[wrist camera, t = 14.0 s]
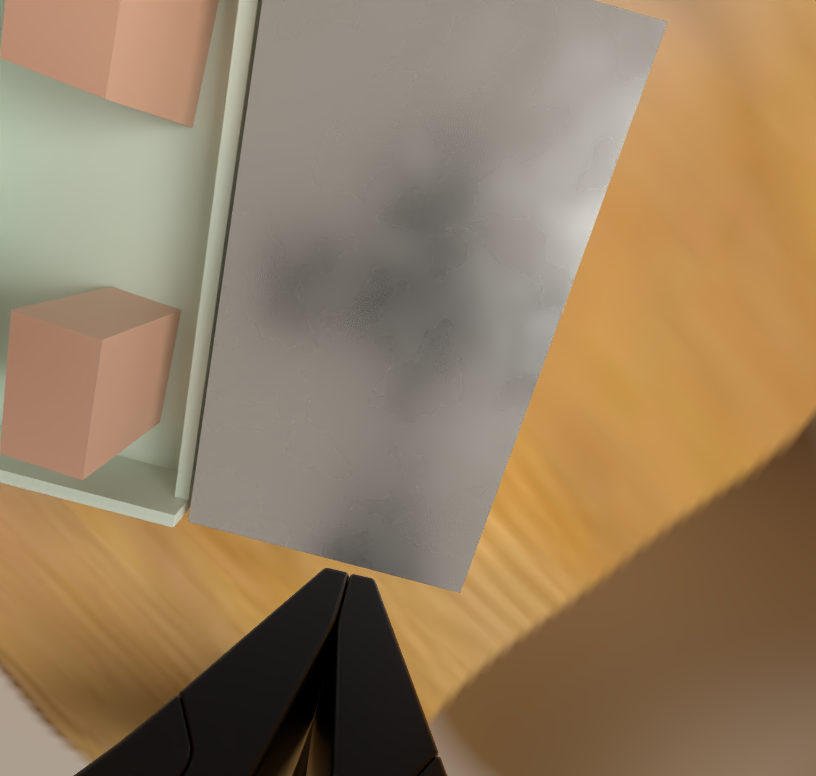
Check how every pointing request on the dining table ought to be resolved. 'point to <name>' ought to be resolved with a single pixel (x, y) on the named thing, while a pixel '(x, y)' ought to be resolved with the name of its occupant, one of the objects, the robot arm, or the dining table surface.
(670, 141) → the dining table surface
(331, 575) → the robot arm
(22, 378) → the tile
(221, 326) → the plate
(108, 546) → the dining table surface
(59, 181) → the tray
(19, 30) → the tile
